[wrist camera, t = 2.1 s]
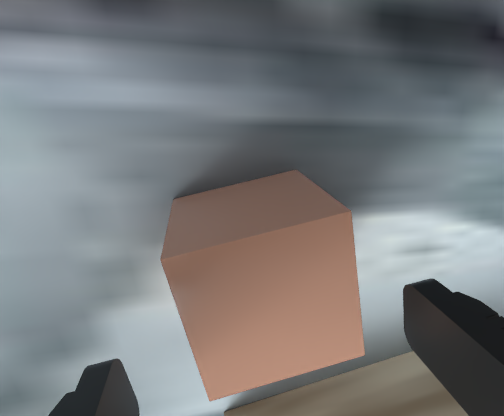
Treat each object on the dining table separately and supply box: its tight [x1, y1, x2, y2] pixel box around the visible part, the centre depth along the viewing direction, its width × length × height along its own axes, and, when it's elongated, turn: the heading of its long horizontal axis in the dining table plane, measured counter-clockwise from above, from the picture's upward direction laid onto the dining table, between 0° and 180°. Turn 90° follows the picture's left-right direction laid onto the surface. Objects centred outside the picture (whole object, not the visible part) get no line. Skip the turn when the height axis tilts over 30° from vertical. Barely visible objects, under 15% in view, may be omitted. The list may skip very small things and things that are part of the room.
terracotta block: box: [161, 170, 365, 401], centre depth 11 cm, size 5×5×5 cm
